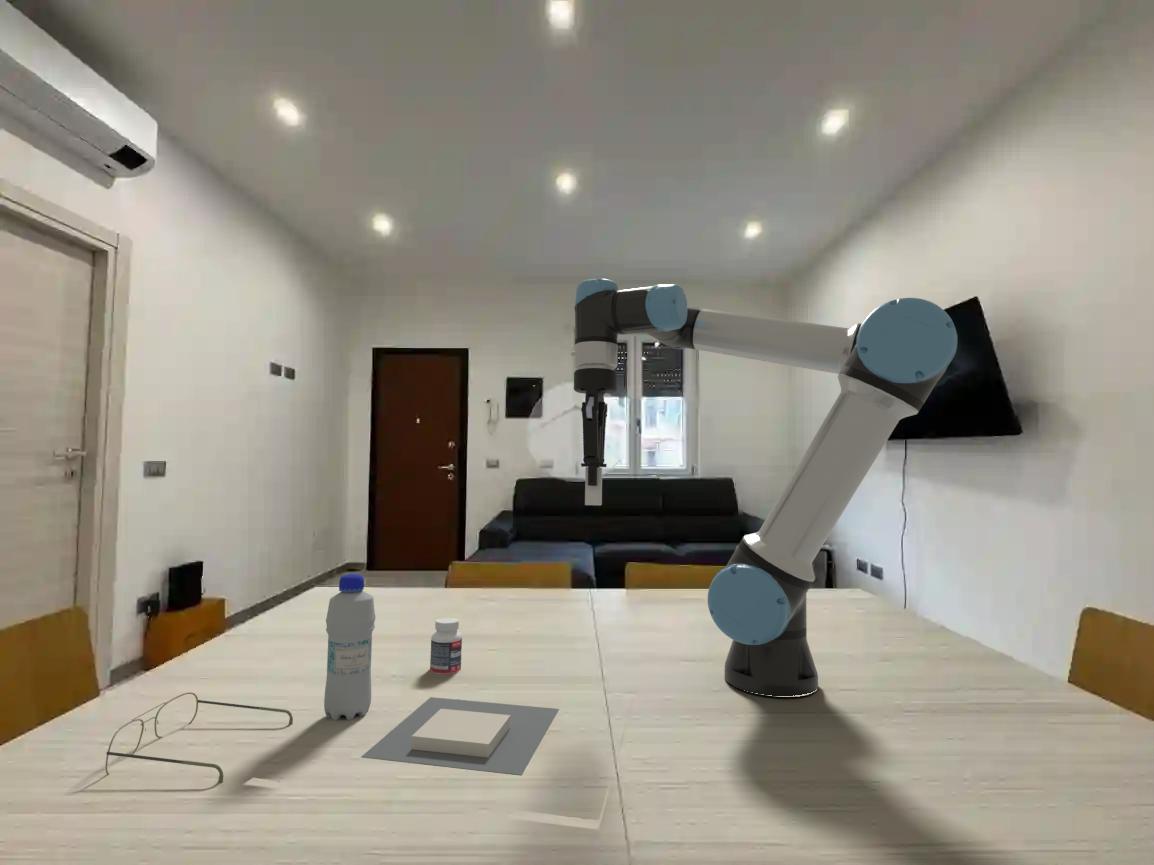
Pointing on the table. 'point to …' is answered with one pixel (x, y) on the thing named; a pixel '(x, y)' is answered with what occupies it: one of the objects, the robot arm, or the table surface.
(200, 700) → the eyeglasses
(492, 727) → the tile
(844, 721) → the table surface
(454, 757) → the mat
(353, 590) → the bottle
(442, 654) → the pill bottle
